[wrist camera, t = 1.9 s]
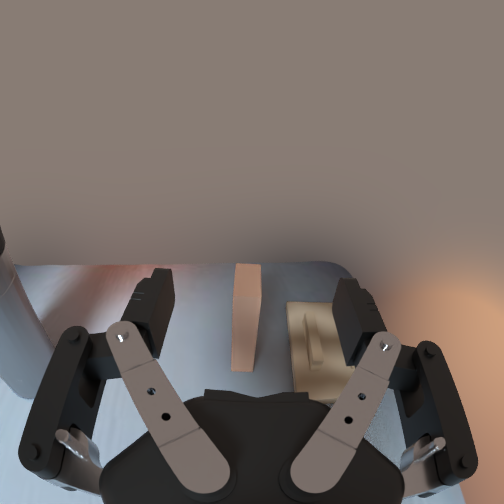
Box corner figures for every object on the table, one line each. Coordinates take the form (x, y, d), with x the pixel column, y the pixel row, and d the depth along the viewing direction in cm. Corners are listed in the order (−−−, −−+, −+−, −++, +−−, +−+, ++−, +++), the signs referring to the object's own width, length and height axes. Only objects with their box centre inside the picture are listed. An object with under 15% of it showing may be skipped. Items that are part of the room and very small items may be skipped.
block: (252, 372, 32) (261, 297, 25) (231, 371, 32) (233, 295, 25) (252, 340, 36) (260, 264, 29) (233, 339, 36) (236, 263, 29)
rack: (376, 398, 28) (387, 384, 27) (295, 405, 28) (301, 391, 26) (349, 308, 42) (355, 293, 40) (285, 307, 42) (288, 290, 40)
